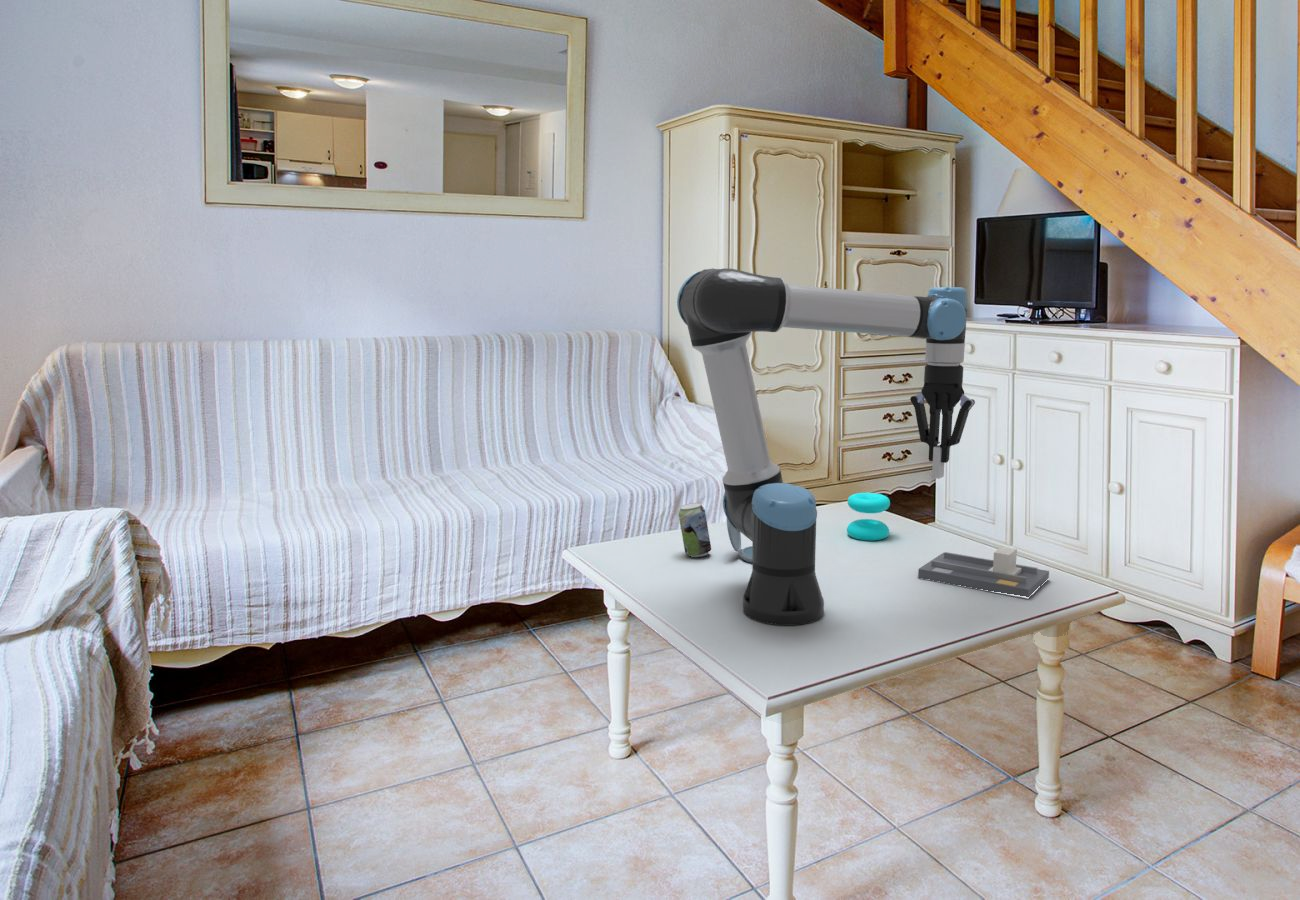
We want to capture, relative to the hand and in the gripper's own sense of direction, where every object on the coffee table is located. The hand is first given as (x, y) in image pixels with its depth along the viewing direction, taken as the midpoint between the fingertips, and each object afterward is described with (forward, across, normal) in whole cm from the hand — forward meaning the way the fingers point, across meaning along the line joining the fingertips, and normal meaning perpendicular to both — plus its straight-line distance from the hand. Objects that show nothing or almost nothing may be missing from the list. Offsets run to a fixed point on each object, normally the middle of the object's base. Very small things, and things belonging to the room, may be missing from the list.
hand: (937, 477), depth 187 cm
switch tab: (+18, -14, -1) cm, 23 cm away
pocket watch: (+21, +34, +13) cm, 43 cm away
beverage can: (+21, +48, +20) cm, 56 cm away
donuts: (+21, +23, -17) cm, 35 cm away
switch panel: (+21, -10, -1) cm, 23 cm away
